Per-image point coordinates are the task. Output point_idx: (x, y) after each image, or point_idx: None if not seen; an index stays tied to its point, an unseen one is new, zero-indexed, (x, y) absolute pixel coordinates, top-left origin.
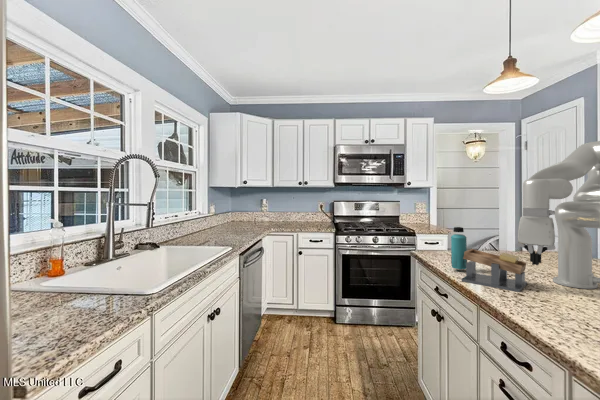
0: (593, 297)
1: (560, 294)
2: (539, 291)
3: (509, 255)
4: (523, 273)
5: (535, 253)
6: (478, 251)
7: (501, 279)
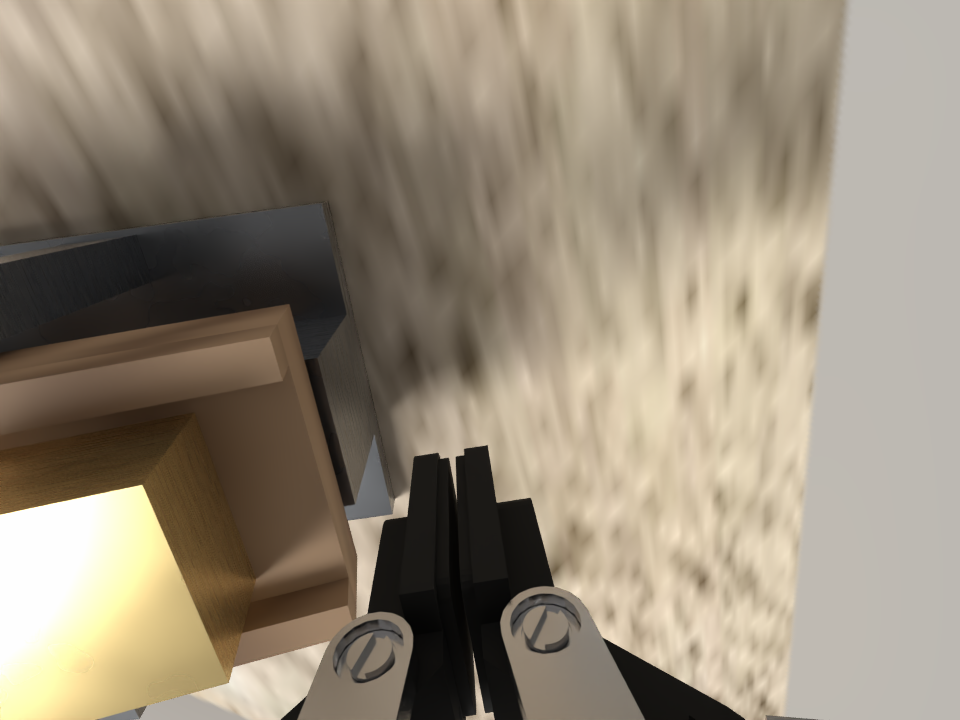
0: (824, 194)
1: (617, 316)
2: (483, 359)
3: (43, 628)
4: (336, 429)
5: (457, 639)
6: None
7: (129, 321)
